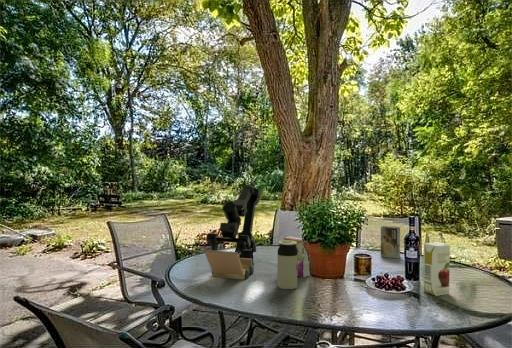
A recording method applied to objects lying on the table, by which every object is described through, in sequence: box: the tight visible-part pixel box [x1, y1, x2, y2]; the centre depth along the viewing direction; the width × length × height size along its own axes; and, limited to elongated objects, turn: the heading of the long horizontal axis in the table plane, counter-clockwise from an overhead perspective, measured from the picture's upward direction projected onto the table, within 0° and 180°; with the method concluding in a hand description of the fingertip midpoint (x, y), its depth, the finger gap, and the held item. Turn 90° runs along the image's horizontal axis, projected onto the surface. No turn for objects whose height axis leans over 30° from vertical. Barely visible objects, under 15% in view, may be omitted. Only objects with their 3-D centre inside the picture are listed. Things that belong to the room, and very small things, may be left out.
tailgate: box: [204, 249, 244, 275], centre depth 159 cm, size 1×14×14 cm
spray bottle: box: [283, 235, 310, 278], centre depth 169 cm, size 11×5×16 cm, turn 47°
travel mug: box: [276, 239, 298, 291], centre depth 152 cm, size 8×8×18 cm
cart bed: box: [211, 258, 255, 280], centre depth 169 cm, size 13×16×6 cm
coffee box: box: [380, 225, 401, 259], centre depth 207 cm, size 9×6×16 cm
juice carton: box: [422, 241, 451, 297], centre depth 146 cm, size 8×9×19 cm
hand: (223, 256), depth 158 cm, fingers open, 9 cm apart
